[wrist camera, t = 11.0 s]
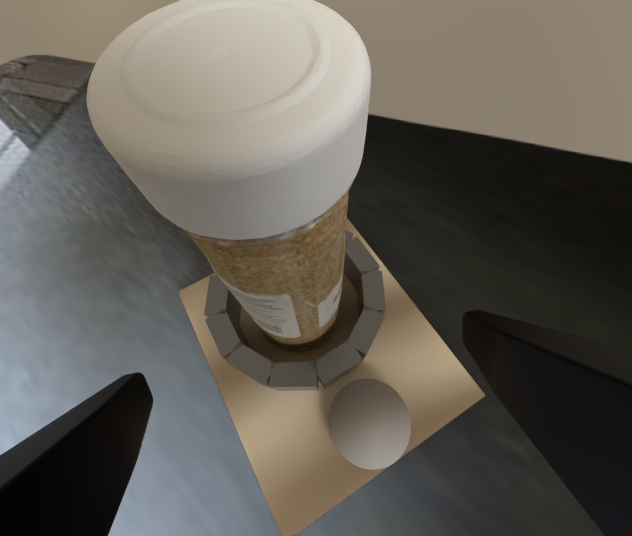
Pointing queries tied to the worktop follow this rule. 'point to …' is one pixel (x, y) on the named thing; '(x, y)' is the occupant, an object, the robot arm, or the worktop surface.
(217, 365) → the carrier plate
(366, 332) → the socket ring
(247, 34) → the sprinkles bottle
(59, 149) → the worktop surface
